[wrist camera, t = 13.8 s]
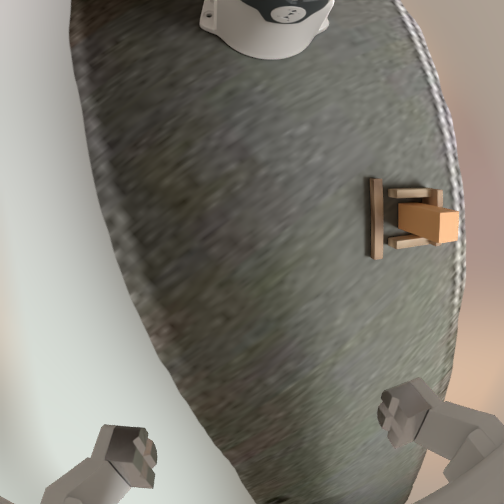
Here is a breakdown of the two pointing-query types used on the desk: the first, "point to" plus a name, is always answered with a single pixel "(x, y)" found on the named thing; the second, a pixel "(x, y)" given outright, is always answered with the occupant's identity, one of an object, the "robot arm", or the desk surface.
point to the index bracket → (428, 197)
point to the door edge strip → (376, 218)
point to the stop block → (429, 221)
